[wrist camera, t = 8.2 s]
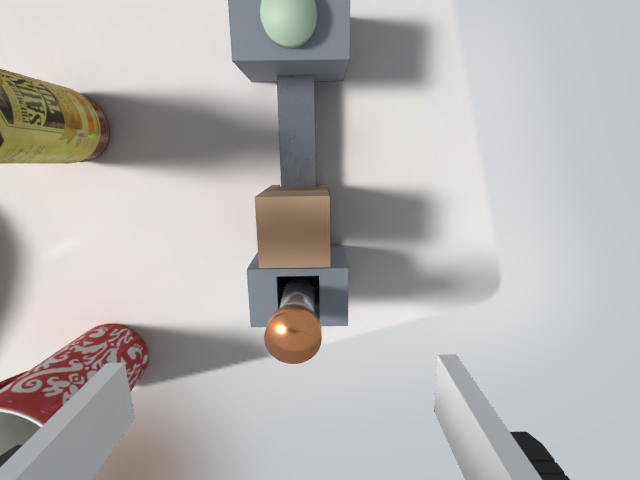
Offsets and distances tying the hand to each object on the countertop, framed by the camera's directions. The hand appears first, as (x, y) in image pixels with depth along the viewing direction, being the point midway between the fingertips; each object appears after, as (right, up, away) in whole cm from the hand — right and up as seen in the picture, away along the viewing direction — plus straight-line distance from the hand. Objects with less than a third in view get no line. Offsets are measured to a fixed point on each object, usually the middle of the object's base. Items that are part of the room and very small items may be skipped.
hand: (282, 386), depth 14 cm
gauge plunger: (0, +2, +14) cm, 14 cm away
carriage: (0, +9, +18) cm, 21 cm away
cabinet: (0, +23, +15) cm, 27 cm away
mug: (-22, -6, +22) cm, 32 cm away
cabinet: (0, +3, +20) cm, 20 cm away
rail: (0, +13, +17) cm, 22 cm away
